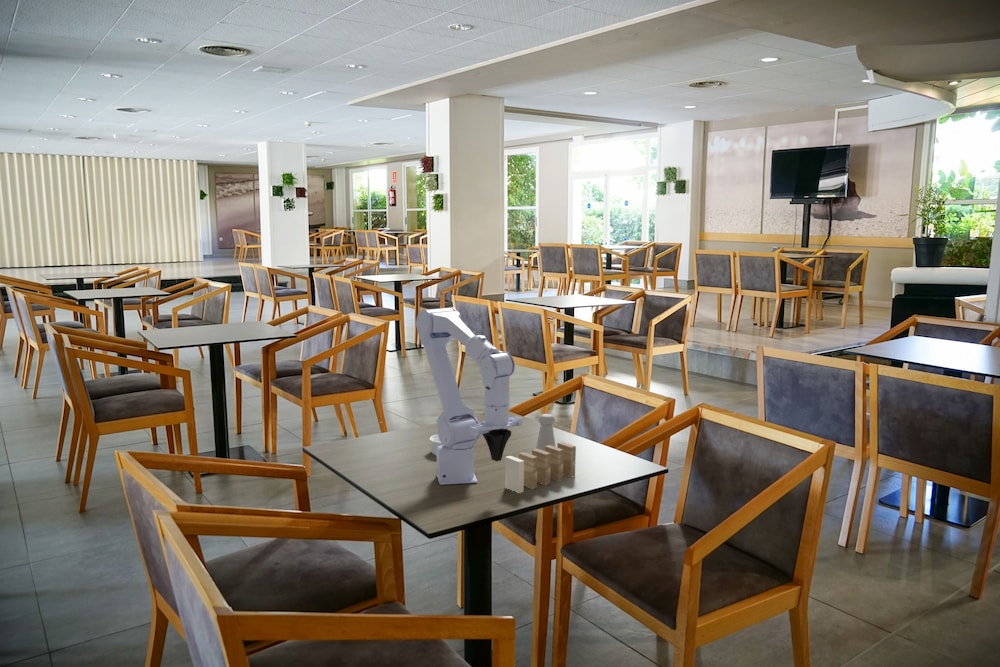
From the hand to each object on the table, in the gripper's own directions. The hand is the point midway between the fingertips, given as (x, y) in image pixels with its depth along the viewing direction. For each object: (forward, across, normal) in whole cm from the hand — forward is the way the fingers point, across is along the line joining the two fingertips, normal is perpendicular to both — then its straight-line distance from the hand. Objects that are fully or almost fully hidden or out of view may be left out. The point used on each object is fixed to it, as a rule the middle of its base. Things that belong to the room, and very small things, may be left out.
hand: (496, 459), depth 183 cm
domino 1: (+9, +10, 0) cm, 14 cm away
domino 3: (+9, +19, 0) cm, 21 cm away
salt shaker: (+9, +27, +11) cm, 31 cm away
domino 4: (+9, +24, 0) cm, 25 cm away
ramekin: (+9, +10, +34) cm, 37 cm away
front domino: (+9, +6, 0) cm, 11 cm away
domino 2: (+9, +15, 0) cm, 17 cm away
